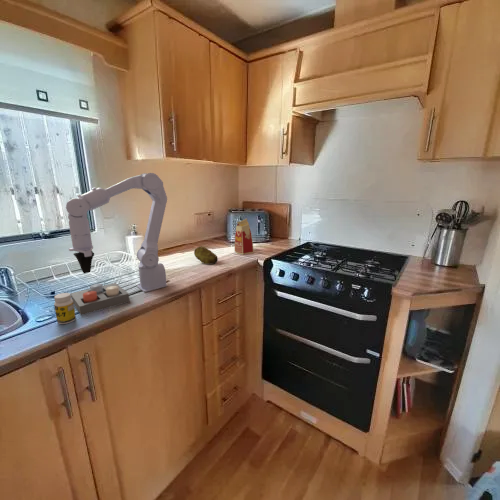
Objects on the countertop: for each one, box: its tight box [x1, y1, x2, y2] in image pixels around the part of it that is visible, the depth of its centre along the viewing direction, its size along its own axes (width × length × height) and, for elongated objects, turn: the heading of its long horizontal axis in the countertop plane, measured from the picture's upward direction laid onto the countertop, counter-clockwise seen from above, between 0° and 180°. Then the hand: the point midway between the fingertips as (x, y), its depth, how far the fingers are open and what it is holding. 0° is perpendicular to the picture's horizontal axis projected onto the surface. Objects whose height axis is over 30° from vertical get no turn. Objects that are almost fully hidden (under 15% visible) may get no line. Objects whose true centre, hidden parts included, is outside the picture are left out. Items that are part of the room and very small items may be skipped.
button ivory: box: [106, 286, 119, 297], centre depth 96 cm, size 4×4×3 cm
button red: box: [83, 291, 98, 303], centre depth 91 cm, size 4×4×3 cm
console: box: [69, 282, 130, 316], centre depth 96 cm, size 15×14×3 cm
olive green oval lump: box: [193, 246, 219, 265], centre depth 141 cm, size 8×13×8 cm, turn 43°
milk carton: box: [234, 217, 254, 255], centre depth 159 cm, size 9×9×20 cm
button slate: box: [89, 283, 104, 293], centre depth 98 cm, size 4×4×3 cm
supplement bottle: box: [53, 292, 77, 325], centre depth 82 cm, size 5×5×8 cm
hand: (86, 272), depth 96 cm, fingers closed
